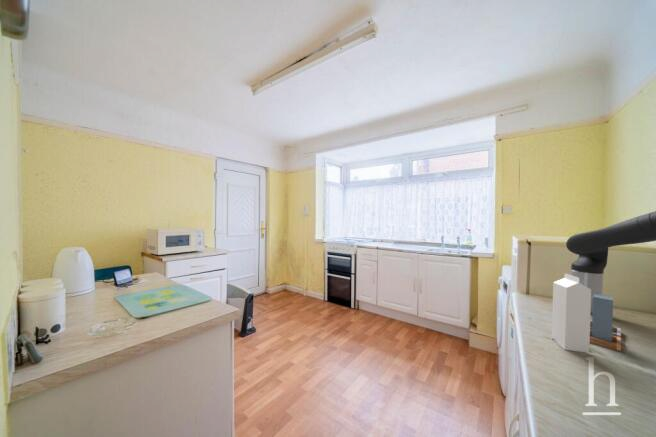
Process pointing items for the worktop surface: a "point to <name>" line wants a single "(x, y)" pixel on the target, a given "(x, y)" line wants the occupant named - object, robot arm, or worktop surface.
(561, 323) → the milk
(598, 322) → the post
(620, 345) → the socket board
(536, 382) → the worktop surface
